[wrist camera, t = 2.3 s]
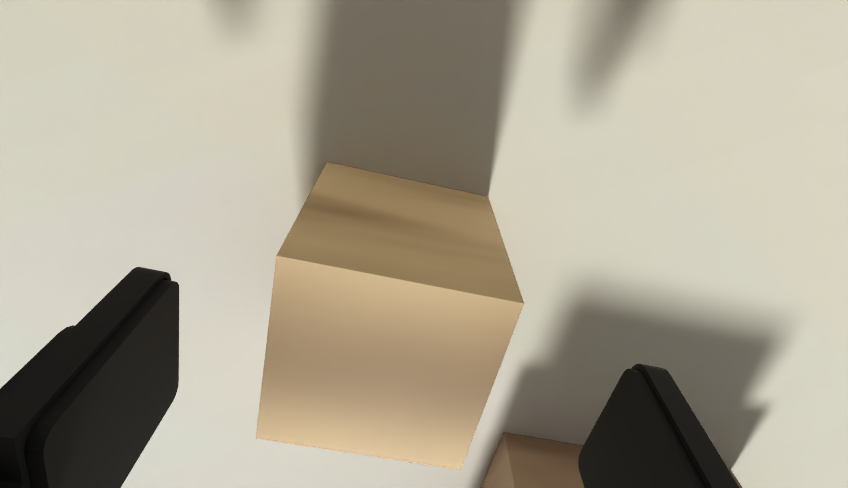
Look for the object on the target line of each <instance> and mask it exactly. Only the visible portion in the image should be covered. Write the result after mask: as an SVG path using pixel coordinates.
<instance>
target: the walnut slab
mask: <svg viewBox="0 0 848 488" xmlns="http://www.w3.org/2000/svg"><path fill="white" fill-rule="evenodd" d="M582 448H583V445H577V444H570V443H564V442H558V441H552V440H546V439H540V438H534V437H528V436H522V435H516V434H510V433H504V434H503V436H502V438H501V441H500V443H499V446H498V448H497V450H496V453H495V455H494V458H493V460H492V462H491V465H490V467H489V469H488V472H487V474H486V477H485V479H484V481H483V484H482V486H481V488H584V485H583V482H582V478H581V475H580V472H579V467H578V459H579V454H580V452H581V450H582ZM729 471H730V473H731V475H732V476H733V478H734V480H735V481H736V483H737V485H738V486H739V488H742V486H741V485H740V483H739V482H738V480H737V479H736V477H735V476H734V474H733V473H732V471H731V470H729Z"/></svg>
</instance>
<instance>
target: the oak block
mask: <svg viewBox="0 0 848 488" xmlns="http://www.w3.org/2000/svg"><path fill="white" fill-rule="evenodd" d="M523 305H524V302H523V299H522V296H521V293H520V290H519V287H518V284H517V281H516V278H515V275H514V272H513V269H512V266H511V264H510V261H509V258H508V255H507V252H506V249H505V246H504V243H503V240H502V237H501V234H500V231H499V228H498V225H497V222H496V219H495V216H494V213H493V210H492V207H491V204H490V201H489V198H488V197H487V196H482V195H478V194H473V193H468V192H464V191H459V190H454V189H450V188H445V187H441V186H436V185H431V184H427V183H422V182H417V181H413V180H408V179H403V178H399V177H394V176H390V175H385V174H380V173H376V172H371V171H366V170H362V169H357V168H353V167H348V166H343V165H339V164H334V163H329V162H327V163H326V165H325V167H324V169H323V170H322V172H321V174H320V176H319V178H318V180H317V181H316V183H315V185H314V187H313V189H312V191H311V193H310V194H309V196H308V198H307V200H306V202H305V204H304V206H303V207H302V209H301V211H300V213H299V215H298V217H297V219H296V220H295V222H294V224H293V226H292V228H291V230H290V232H289V233H288V235H287V237H286V239H285V241H284V243H283V244H282V246H281V248H280V250H279V252H278V254H277V256H276V264H275V273H274V282H273V291H272V300H271V308H270V317H269V326H268V335H267V344H266V353H265V361H264V370H263V379H262V388H261V397H260V405H259V414H258V423H257V432H256V439H263V440H269V441H276V442H282V443H289V444H295V445H302V446H308V447H315V448H321V449H328V450H334V451H341V452H347V453H354V454H360V455H367V456H373V457H380V458H386V459H393V460H399V461H406V462H412V463H419V464H425V465H432V466H438V467H445V468H451V469H458V470H461V468H462V465H463V463H464V460H465V457H466V455H467V452H468V450H469V447H470V444H471V442H472V439H473V436H474V434H475V431H476V428H477V426H478V423H479V421H480V418H481V415H482V413H483V410H484V407H485V405H486V402H487V400H488V397H489V394H490V392H491V389H492V386H493V384H494V381H495V379H496V376H497V373H498V371H499V368H500V365H501V363H502V360H503V357H504V355H505V352H506V350H507V347H508V344H509V342H510V339H511V336H512V334H513V331H514V329H515V326H516V323H517V321H518V318H519V315H520V313H521V310H522V308H523Z"/></svg>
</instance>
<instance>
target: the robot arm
mask: <svg viewBox="0 0 848 488" xmlns="http://www.w3.org/2000/svg"><path fill="white" fill-rule="evenodd" d="M178 382H179V285H178V283H177V282H175V281H171V277H170V274H169V273H167V272H162V271H157V270H152V269H147V268H141V267H136V268H134V269H133V270H132V271H131V272H130V273H129V274H128V275H127V276H126V277H125V278H123V279H122V280H121V281H120V282H119V283H118V284H117V285H116V286H115V287H114V288H113V289H112V290H111V291H110V292H109V293H108V294H107V295H106V296H105V297H104V298H103V299H102V300H101V301H100V302H99V303H98V304H97V305H96V306H95V307H94V308H93V309H92V310H91V311H90V312H89V313H88V314H87V315H86V316H85V317H84V318H83V319H82V320H81V321H80V322H79V323H78V324H77V325H75V326H70V327H66V328H65V329H63V330H62V331H61V332H59V333H58V334H57V335H56V336H55V337H54V338H53V339H52V340H51V341H50V342H49V343H48V344H47V345H46V346H45V347H44V348H43V349H42V350H40V351H39V352H38V353H37V354H36V355H35V356H34V357H33V358H32V359H31V360H30V361H29V362H28V363H27V364H26V365H25V366H24V367H23V368H22V369H21V370H20V371H18V372H17V373H16V374H15V375H14V376H13V377H12V378H11V379H10V380H9V381H8V382H7V383H6V384H5V385H4V386H3V387H2V388H1V389H0V488H121V486H122V484H123V483H124V481H125V479H126V478H127V476H128V474H129V473H130V471H131V469H132V468H133V466H134V464H135V463H136V461H137V460H138V458H139V456H140V455H141V453H142V451H143V450H144V448H145V446H146V445H147V443H148V441H149V440H150V438H151V436H152V435H153V433H154V431H155V430H156V428H157V427H158V425H159V423H160V422H161V420H162V418H163V417H164V415H165V413H166V412H167V410H168V408H169V407H170V405H171V403H172V402H173V400H174V398H175V395H176V392H177V389H178ZM578 467H579V472H580V475H581V478H582V482H583V485H584V488H739V486H738V485H737V483H736V481H735V480H734V478H733V476H732V475H731V473H730V471H729V470H728V468H727V467H726V465H725V463H724V462H723V460H722V458H721V457H720V455H719V454H718V452H717V450H716V449H715V447H714V445H713V444H712V442H711V440H710V439H709V437H708V436H707V434H706V432H705V431H704V429H703V427H702V426H701V424H700V423H699V421H698V419H697V418H696V416H695V414H694V413H693V411H692V409H691V408H690V406H689V405H688V403H687V401H686V400H685V398H684V396H683V395H682V393H681V392H680V390H679V388H678V387H677V385H676V383H675V382H674V380H673V378H672V377H671V375H670V374H669V372H668V371H667V370H665V369H663V368H658V367H653V366H648V365H643V364H636V365H635V366H633V367H632V369H627V370H625V371H624V373H623V374H622V376H621V378H620V380H619V382H618V384H617V385H616V387H615V389H614V391H613V393H612V395H611V396H610V398H609V400H608V402H607V404H606V406H605V407H604V409H603V411H602V413H601V415H600V417H599V418H598V420H597V422H596V424H595V426H594V428H593V429H592V431H591V433H590V435H589V437H588V439H587V440H586V442H585V444H584V446H583V448H582V450H581V452H580V454H579V459H578Z"/></svg>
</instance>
